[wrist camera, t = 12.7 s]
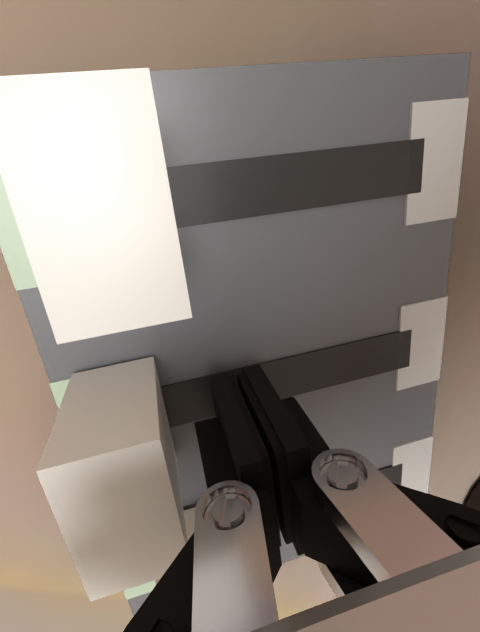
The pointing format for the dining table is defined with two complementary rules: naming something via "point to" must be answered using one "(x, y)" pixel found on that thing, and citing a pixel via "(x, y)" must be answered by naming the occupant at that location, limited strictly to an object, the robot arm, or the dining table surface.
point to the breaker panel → (298, 252)
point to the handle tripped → (115, 478)
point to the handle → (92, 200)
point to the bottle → (474, 498)
